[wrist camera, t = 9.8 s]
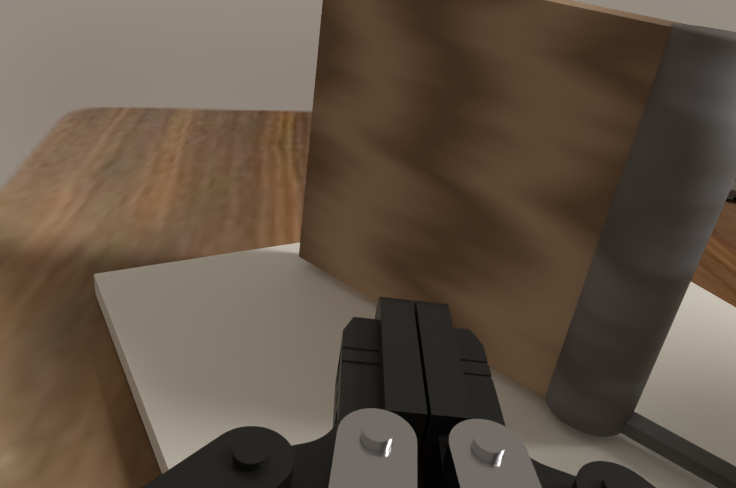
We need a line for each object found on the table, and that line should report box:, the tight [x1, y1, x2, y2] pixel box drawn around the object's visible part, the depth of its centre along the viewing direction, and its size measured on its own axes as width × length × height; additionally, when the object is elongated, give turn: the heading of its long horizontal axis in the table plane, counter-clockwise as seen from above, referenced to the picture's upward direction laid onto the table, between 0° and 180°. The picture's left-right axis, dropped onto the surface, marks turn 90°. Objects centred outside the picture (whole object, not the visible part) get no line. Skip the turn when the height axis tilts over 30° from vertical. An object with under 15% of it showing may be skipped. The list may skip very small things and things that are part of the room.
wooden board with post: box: [299, 0, 736, 488], centre depth 20 cm, size 26×3×13 cm, turn 50°
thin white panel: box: [94, 243, 736, 488], centre depth 24 cm, size 28×28×1 cm
